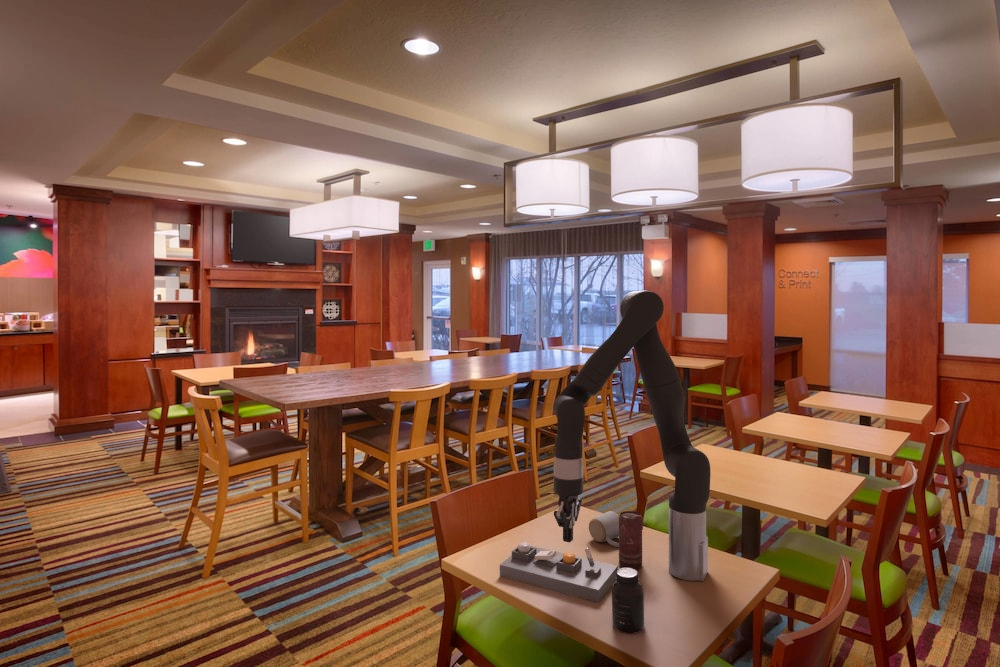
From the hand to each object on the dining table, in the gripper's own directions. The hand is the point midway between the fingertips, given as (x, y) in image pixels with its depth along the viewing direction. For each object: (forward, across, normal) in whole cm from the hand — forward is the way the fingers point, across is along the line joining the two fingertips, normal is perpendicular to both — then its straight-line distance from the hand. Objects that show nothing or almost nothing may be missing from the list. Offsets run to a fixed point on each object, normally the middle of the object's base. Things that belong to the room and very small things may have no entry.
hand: (568, 540), depth 143 cm
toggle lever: (+6, 0, -7) cm, 9 cm away
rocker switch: (+6, 0, +6) cm, 9 cm away
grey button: (+6, 0, +13) cm, 14 cm away
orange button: (+6, 0, 0) cm, 6 cm away
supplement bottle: (+10, -13, -20) cm, 26 cm away
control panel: (+10, 0, +3) cm, 10 cm away
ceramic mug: (+10, +28, -1) cm, 30 cm away
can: (+10, +15, -12) cm, 22 cm away
